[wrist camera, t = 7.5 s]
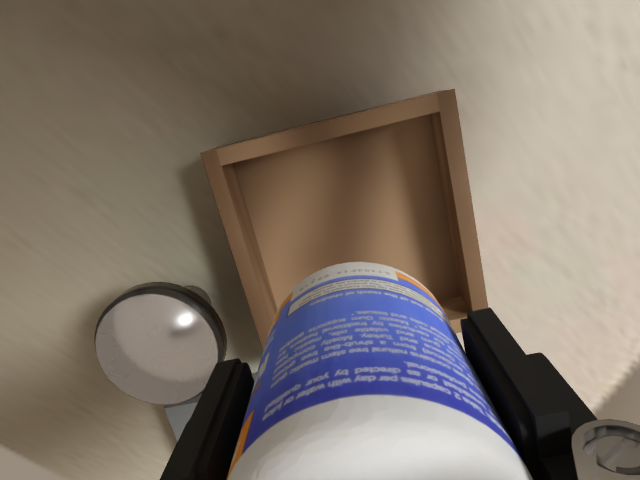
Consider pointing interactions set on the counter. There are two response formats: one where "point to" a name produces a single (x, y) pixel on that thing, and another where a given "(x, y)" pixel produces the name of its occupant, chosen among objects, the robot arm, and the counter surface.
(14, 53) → the counter surface
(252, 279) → the tray
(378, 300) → the pill bottle
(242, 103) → the counter surface
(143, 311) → the metal mushroom knob
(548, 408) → the robot arm
